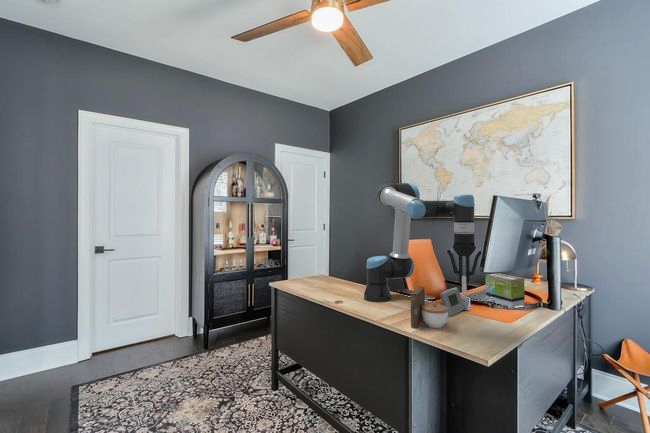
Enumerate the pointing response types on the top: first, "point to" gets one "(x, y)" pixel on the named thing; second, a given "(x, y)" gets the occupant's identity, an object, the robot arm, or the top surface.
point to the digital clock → (452, 301)
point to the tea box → (505, 289)
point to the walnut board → (417, 306)
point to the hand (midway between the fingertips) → (464, 291)
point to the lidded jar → (434, 315)
